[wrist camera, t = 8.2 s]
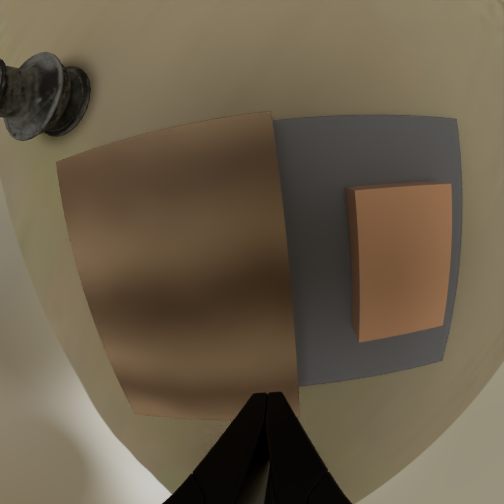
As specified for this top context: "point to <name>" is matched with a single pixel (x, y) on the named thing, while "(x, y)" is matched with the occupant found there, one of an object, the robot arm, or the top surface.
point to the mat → (338, 237)
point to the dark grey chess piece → (42, 97)
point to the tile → (399, 256)
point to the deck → (187, 265)
